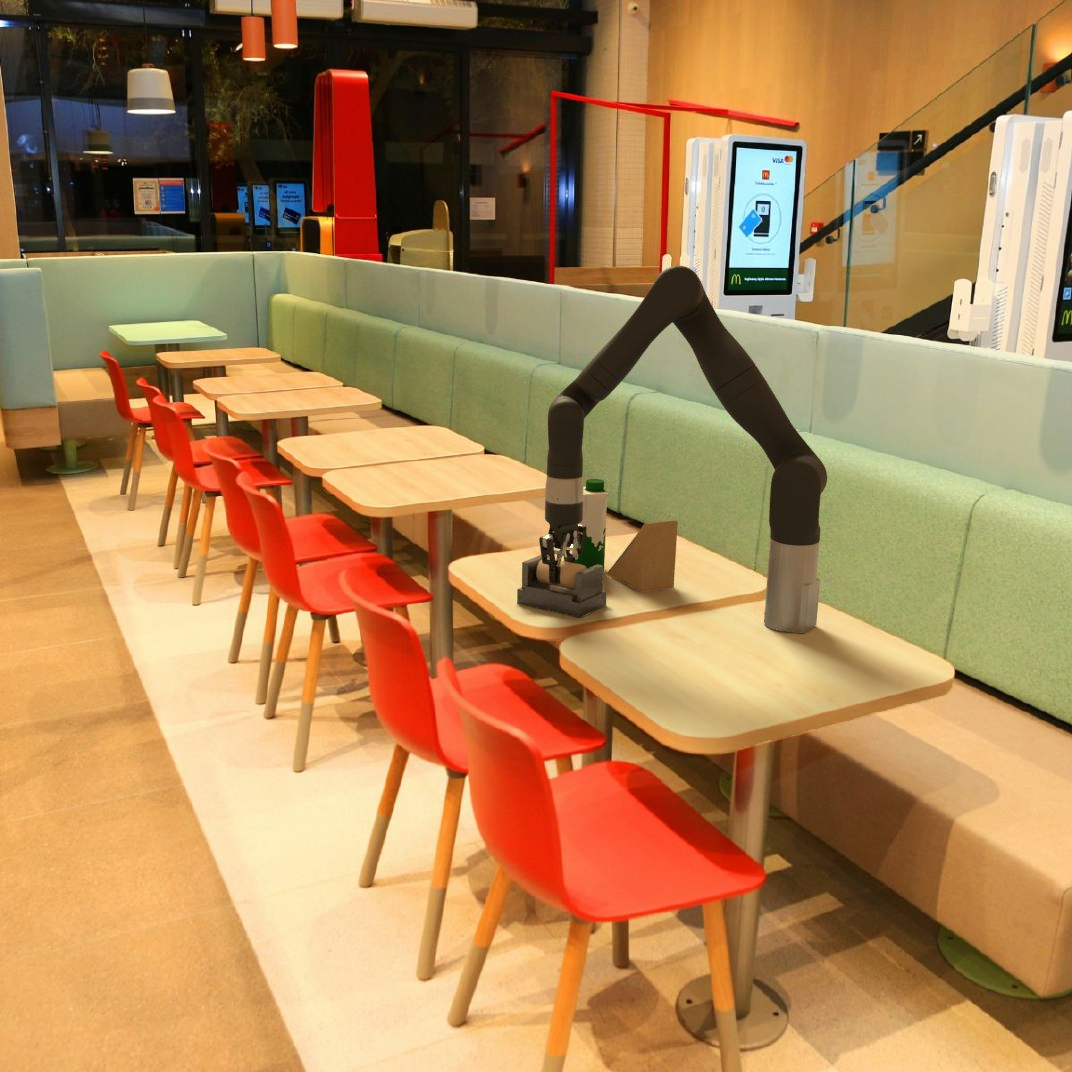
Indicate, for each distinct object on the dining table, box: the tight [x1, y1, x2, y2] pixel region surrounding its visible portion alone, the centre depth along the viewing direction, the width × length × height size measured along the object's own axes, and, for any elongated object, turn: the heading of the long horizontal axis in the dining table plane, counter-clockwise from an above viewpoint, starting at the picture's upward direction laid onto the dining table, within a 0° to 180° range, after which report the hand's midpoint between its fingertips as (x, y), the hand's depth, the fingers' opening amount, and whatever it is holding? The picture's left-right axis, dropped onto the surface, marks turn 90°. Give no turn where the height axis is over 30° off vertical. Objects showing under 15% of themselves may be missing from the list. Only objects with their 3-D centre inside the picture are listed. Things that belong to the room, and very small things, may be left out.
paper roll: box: [536, 558, 587, 590], centre depth 230 cm, size 9×5×5 cm, turn 55°
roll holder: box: [516, 554, 608, 619], centre depth 231 cm, size 15×10×8 cm, turn 55°
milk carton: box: [563, 478, 610, 573], centre depth 254 cm, size 9×9×20 cm
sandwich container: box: [606, 519, 679, 593], centre depth 247 cm, size 9×15×15 cm, turn 26°
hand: (562, 579), depth 230 cm, fingers closed on paper roll, 5 cm apart
